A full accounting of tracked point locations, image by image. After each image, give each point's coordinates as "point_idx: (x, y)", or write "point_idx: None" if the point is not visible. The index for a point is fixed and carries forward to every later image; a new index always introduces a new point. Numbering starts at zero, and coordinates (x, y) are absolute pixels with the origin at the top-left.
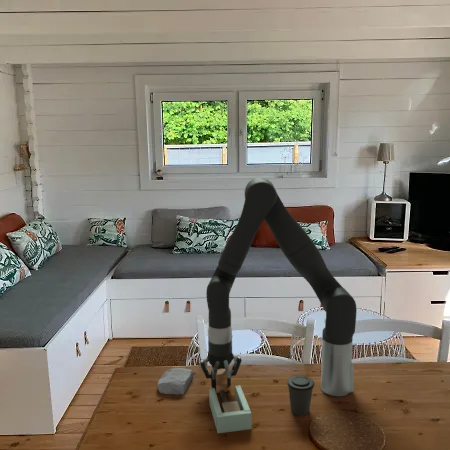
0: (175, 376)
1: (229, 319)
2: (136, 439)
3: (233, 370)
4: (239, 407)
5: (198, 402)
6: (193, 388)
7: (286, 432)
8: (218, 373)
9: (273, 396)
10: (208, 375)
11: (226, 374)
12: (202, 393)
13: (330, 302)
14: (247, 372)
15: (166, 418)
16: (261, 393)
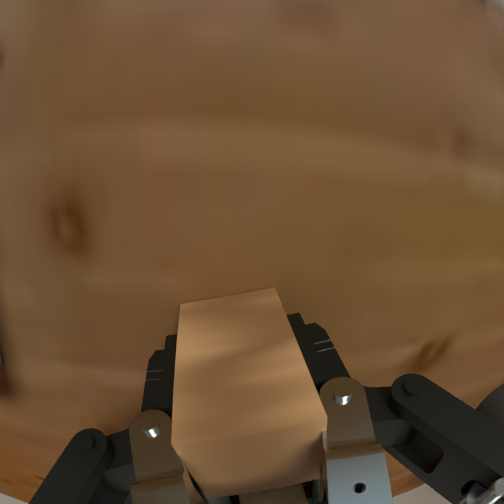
0: None
1: None
2: (21, 495)
3: (409, 431)
4: (318, 486)
5: (107, 430)
6: (24, 306)
7: (408, 478)
8: (230, 477)
9: (481, 355)
10: (128, 496)
11: (316, 476)
12: (101, 366)
13: None
14: (466, 82)
15: (35, 469)
16: (457, 343)
